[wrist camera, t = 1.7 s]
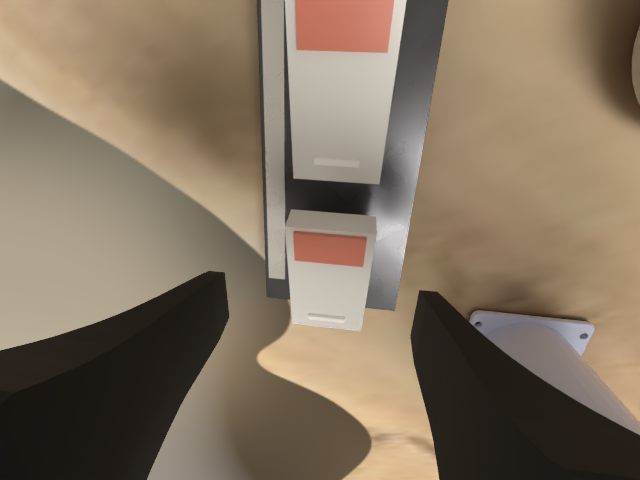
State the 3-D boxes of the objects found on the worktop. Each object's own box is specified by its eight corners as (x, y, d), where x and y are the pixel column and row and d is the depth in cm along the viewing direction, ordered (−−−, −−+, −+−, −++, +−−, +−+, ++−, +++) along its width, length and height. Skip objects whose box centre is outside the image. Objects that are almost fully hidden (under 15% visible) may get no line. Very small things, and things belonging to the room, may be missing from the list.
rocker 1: (378, 170, 15) (379, 186, 14) (298, 165, 15) (292, 180, 14) (404, -14, 11) (409, -15, 9) (292, -15, 11) (282, -15, 10)
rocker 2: (361, 311, 19) (361, 334, 17) (296, 304, 19) (291, 326, 18) (376, 215, 14) (377, 237, 13) (291, 209, 15) (283, 229, 13)
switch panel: (389, 281, 22) (396, 323, 18) (279, 270, 23) (261, 308, 18) (471, -239, 12) (531, -426, 8) (274, -228, 13) (231, -394, 9)
